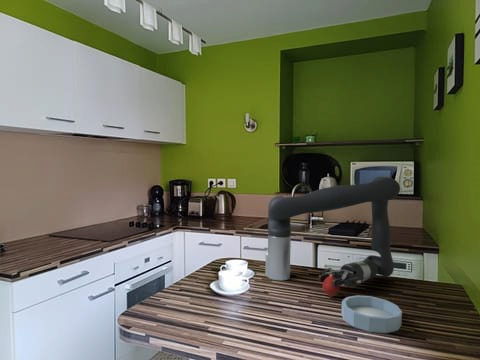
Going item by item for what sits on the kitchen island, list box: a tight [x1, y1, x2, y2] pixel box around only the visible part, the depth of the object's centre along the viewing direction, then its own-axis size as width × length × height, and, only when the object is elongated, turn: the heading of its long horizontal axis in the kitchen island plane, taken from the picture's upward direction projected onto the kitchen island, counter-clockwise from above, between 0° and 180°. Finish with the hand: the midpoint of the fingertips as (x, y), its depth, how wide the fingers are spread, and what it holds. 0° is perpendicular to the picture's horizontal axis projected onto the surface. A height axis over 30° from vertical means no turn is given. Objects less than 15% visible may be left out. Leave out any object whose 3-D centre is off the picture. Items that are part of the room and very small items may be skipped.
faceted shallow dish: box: [341, 294, 403, 334], centre depth 97 cm, size 16×16×4 cm
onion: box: [322, 274, 341, 298], centre depth 114 cm, size 6×6×8 cm
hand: (326, 281), depth 112 cm, fingers closed on onion, 5 cm apart
